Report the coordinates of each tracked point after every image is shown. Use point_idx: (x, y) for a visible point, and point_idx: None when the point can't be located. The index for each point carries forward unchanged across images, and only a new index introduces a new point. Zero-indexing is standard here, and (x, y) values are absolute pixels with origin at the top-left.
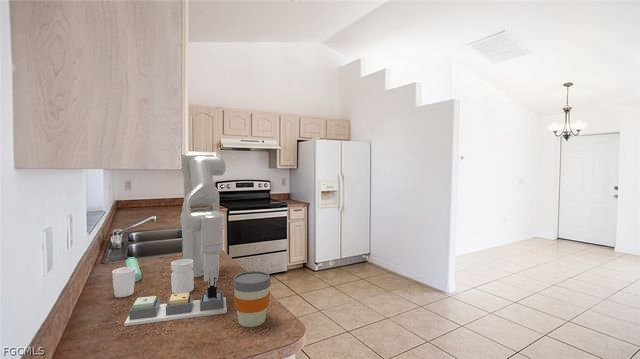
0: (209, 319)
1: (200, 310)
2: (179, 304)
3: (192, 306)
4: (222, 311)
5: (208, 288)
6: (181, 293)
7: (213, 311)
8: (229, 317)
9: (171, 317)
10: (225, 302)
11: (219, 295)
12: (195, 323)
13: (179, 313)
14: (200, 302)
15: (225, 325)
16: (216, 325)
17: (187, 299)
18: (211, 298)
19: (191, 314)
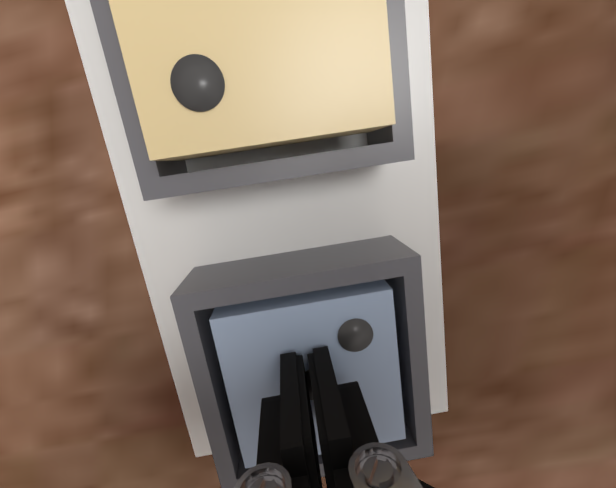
0: (100, 347)
1: (194, 271)
2: None
3: (299, 178)
4: (189, 427)
5: (280, 450)
6: (371, 2)
7: (180, 372)
8: (130, 465)
9: (70, 20)
10: None
11: None
12: (30, 260)
13: None
14: (175, 300)
15: (9, 461)
16: (6, 409)
17: (150, 153)
18: (277, 385)
19: (126, 207)
